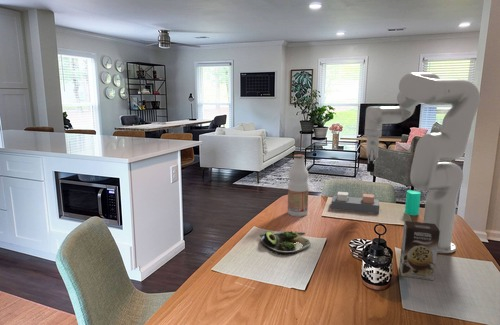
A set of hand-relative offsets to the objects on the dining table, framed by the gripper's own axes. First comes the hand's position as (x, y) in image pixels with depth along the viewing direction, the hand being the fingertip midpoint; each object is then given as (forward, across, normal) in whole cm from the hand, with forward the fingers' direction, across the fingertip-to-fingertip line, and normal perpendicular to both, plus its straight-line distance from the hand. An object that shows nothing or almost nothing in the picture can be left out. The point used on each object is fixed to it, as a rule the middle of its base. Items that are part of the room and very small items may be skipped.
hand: (370, 171), depth 160 cm
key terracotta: (+16, 0, 0) cm, 16 cm away
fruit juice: (+19, -16, +32) cm, 41 cm away
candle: (+19, +1, -20) cm, 28 cm away
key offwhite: (+16, 0, +12) cm, 20 cm away
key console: (+19, 0, +6) cm, 20 cm away
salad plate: (+20, -51, +31) cm, 63 cm away
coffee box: (+19, -59, -13) cm, 63 cm away
